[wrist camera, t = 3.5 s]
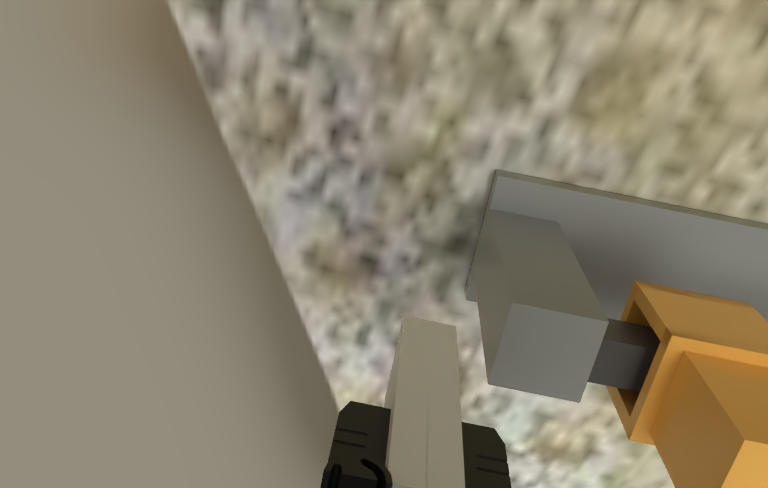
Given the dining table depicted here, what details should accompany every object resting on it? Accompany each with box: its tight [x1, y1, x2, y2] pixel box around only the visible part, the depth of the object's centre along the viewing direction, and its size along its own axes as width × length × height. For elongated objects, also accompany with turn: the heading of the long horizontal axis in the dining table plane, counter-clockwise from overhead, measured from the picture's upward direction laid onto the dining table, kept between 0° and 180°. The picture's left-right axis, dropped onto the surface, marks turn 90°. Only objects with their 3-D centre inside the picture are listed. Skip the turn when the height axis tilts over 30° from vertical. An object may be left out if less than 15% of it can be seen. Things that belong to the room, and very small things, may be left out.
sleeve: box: [606, 280, 768, 488], centre depth 19 cm, size 4×4×8 cm
